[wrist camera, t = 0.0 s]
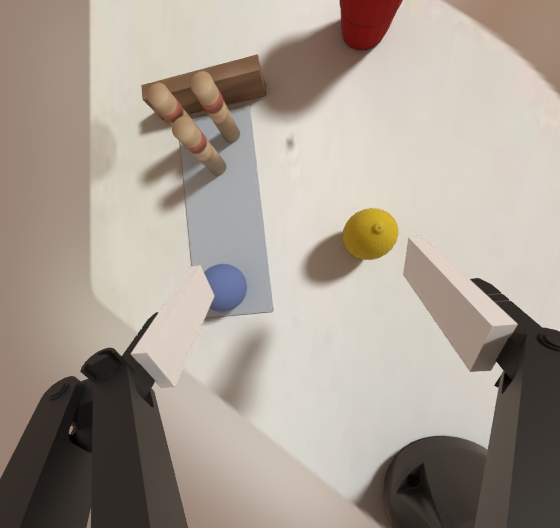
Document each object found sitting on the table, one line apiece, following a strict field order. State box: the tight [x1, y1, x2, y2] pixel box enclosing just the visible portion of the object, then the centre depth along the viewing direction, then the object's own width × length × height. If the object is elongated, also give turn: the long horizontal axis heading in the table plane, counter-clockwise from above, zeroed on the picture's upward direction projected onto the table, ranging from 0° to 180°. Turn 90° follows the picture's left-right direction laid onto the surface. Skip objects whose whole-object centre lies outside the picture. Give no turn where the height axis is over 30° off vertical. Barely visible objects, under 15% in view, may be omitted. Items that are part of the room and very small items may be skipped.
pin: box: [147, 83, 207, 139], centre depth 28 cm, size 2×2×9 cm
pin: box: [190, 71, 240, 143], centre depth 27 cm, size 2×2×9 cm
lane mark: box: [180, 105, 273, 318], centre depth 32 cm, size 29×11×1 cm, turn 7°
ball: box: [204, 264, 247, 312], centre depth 28 cm, size 6×6×6 cm
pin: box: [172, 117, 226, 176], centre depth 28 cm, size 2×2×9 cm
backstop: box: [141, 54, 266, 120], centre depth 31 cm, size 2×16×4 cm, turn 97°
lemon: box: [343, 208, 398, 260], centre depth 25 cm, size 6×6×8 cm
